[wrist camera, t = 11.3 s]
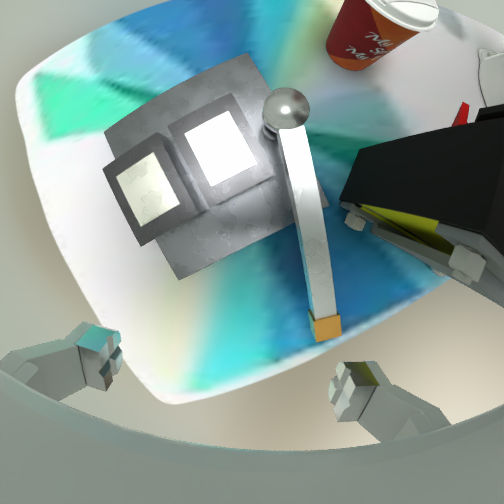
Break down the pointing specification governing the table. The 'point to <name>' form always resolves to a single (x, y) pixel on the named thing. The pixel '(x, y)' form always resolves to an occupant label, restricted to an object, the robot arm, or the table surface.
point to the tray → (202, 168)
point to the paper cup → (376, 29)
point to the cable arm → (305, 206)
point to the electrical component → (439, 198)
